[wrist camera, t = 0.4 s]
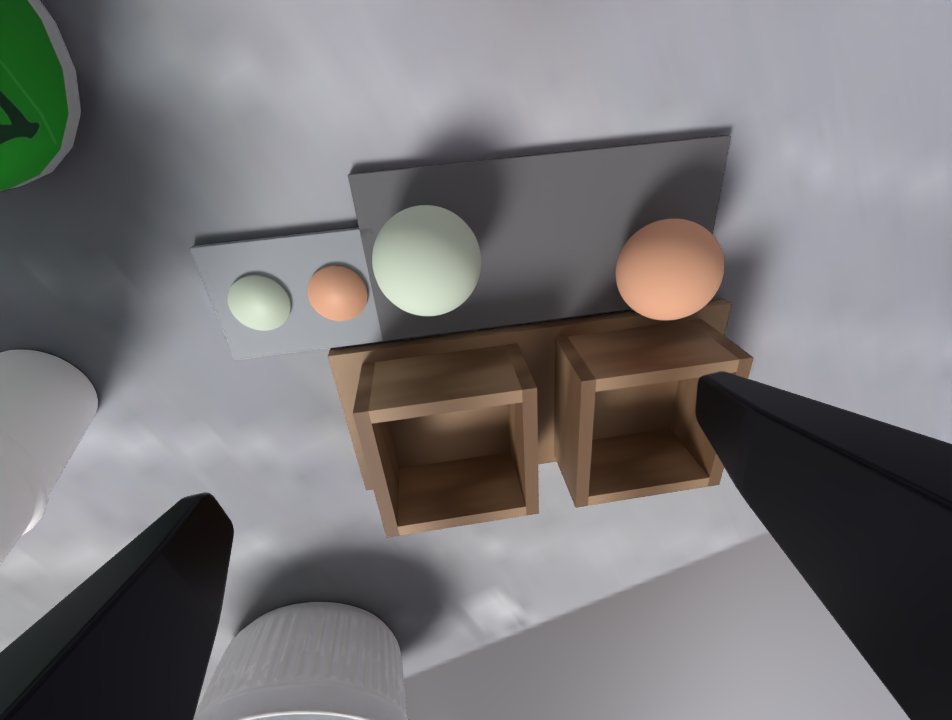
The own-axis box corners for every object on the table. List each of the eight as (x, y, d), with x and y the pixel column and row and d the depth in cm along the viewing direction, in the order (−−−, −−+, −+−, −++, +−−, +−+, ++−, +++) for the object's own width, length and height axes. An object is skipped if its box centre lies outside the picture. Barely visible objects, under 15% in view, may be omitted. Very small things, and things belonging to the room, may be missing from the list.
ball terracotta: (696, 204, 19) (760, 226, 15) (681, 292, 21) (735, 330, 17) (604, 214, 18) (648, 239, 15) (598, 303, 21) (636, 343, 17)
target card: (372, 225, 18) (371, 229, 17) (394, 335, 20) (393, 341, 20) (193, 245, 17) (186, 249, 17) (238, 355, 20) (233, 362, 19)
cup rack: (724, 299, 22) (790, 340, 18) (694, 433, 26) (743, 489, 22) (329, 349, 20) (311, 405, 17) (367, 482, 25) (359, 550, 21)
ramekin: (171, 631, 29) (109, 768, 23) (352, 561, 28) (336, 685, 22) (290, 709, 36) (266, 831, 30) (440, 655, 34) (446, 771, 29)
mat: (724, 135, 18) (730, 135, 18) (695, 297, 21) (700, 300, 21) (349, 174, 17) (347, 175, 17) (383, 337, 20) (382, 341, 20)
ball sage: (470, 190, 17) (484, 211, 14) (478, 287, 19) (492, 326, 16) (366, 201, 17) (355, 226, 14) (385, 298, 19) (380, 341, 16)
